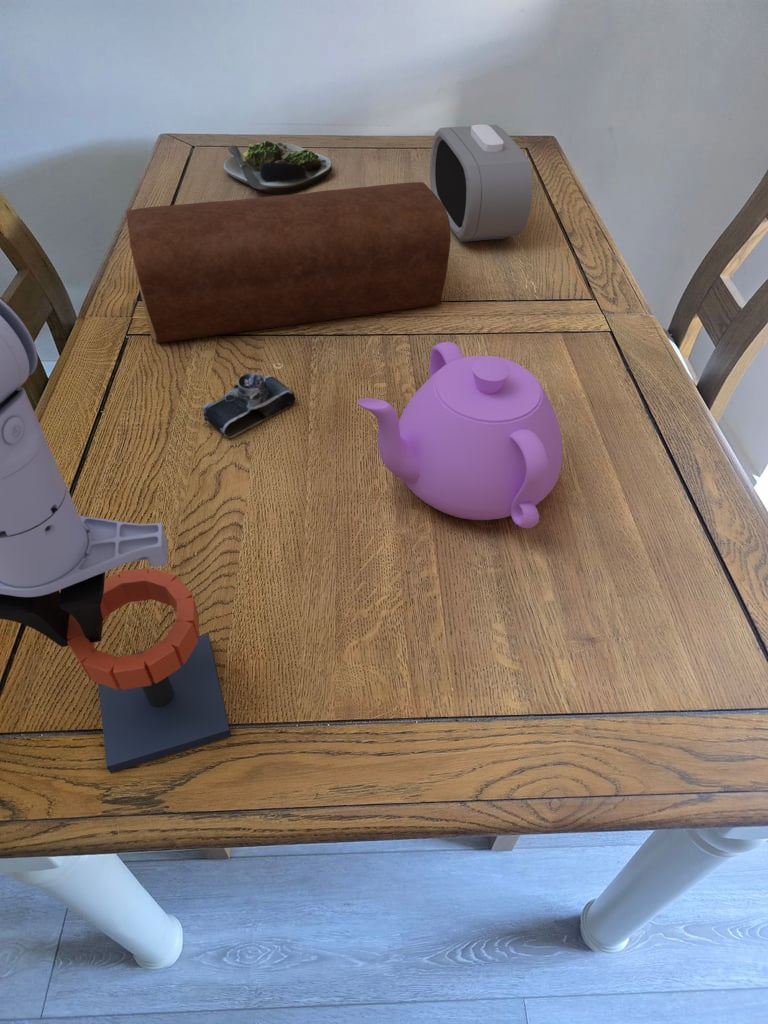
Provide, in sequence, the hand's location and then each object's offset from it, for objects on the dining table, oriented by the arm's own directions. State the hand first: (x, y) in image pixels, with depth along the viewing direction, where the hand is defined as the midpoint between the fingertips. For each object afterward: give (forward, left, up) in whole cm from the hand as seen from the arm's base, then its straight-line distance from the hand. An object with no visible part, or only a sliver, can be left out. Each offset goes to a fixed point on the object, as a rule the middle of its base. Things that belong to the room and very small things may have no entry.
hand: (82, 632), depth 50 cm
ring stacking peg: (+4, -2, -9) cm, 10 cm away
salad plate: (+36, +93, -10) cm, 100 cm away
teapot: (+36, +14, -10) cm, 40 cm away
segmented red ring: (+3, 0, -1) cm, 4 cm away
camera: (+18, +31, -10) cm, 37 cm away
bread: (+29, +53, -10) cm, 61 cm away
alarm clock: (+62, +67, -10) cm, 92 cm away
